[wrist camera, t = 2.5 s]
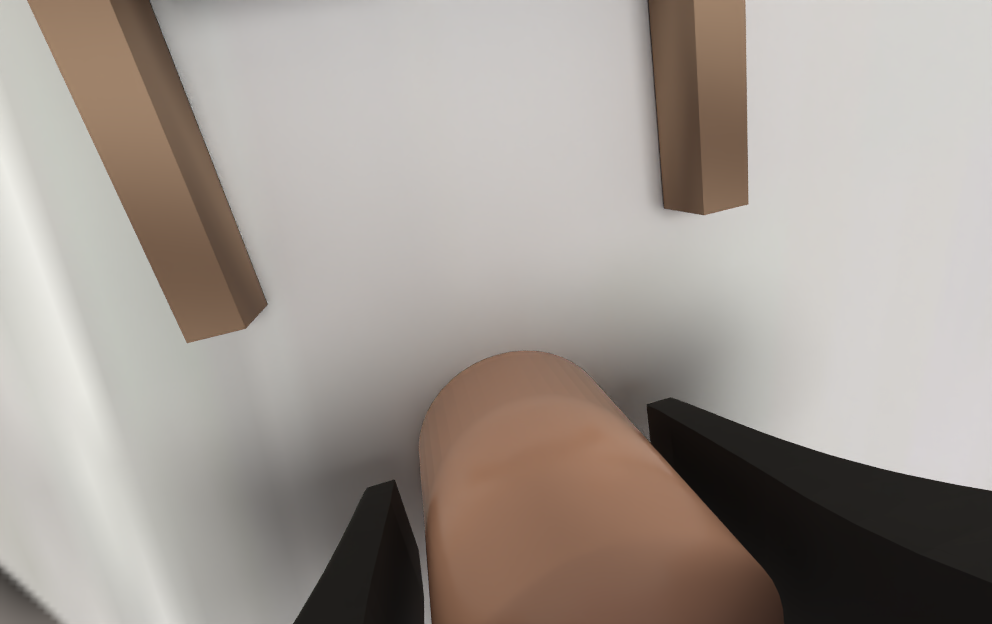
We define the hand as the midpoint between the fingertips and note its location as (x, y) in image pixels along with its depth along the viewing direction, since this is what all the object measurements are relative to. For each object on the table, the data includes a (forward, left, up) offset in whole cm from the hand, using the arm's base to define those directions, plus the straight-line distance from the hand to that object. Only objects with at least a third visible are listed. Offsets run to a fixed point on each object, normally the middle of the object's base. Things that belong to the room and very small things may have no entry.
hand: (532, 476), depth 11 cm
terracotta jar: (0, 0, -2) cm, 2 cm away
